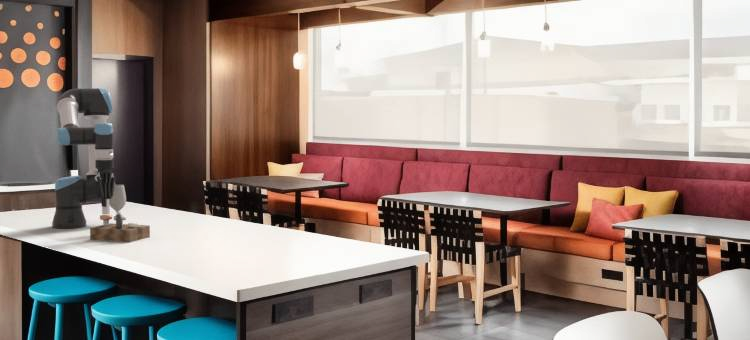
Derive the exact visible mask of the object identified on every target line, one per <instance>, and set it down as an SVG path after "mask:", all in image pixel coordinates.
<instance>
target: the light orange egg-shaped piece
mask: <svg viewBox="0 0 750 340" xmlns="http://www.w3.org/2000/svg"><path fill="white" fill-rule="evenodd" d="M99 220H100V221H101V220H102V222H103V223H102V225H103V226H104V227H108V226H109V224H110V220H113V215H112V214H100V215H99Z"/></svg>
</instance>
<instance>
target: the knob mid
mask: <svg viewBox="0 0 750 340" xmlns="http://www.w3.org/2000/svg"><path fill="white" fill-rule="evenodd" d="M126 220H127V216H126V215H124V214H123V215H122V227H123V224H124V221H126ZM113 221H116V215H114V216H113Z"/></svg>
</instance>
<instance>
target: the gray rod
mask: <svg viewBox="0 0 750 340" xmlns="http://www.w3.org/2000/svg"><path fill="white" fill-rule="evenodd" d="M115 216H116V220H115V224H116V229H122V213H121V211H119V212H117V213H116V214H115Z"/></svg>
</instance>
